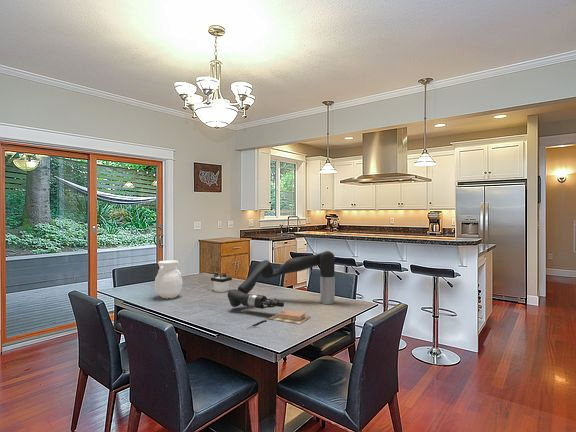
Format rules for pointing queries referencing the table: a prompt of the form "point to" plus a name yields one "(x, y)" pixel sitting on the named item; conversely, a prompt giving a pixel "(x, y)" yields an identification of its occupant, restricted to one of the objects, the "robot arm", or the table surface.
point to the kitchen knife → (257, 324)
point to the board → (288, 319)
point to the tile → (291, 315)
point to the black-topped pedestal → (221, 282)
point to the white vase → (168, 279)
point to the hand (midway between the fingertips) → (283, 304)
